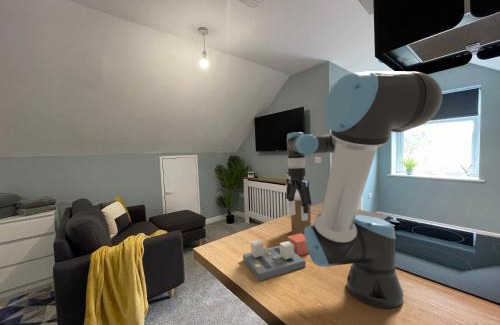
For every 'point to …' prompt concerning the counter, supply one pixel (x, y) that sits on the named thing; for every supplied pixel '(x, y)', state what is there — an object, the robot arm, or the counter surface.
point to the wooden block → (299, 218)
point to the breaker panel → (272, 263)
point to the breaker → (287, 250)
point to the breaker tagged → (257, 248)
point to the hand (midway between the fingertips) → (298, 217)
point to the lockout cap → (298, 244)
